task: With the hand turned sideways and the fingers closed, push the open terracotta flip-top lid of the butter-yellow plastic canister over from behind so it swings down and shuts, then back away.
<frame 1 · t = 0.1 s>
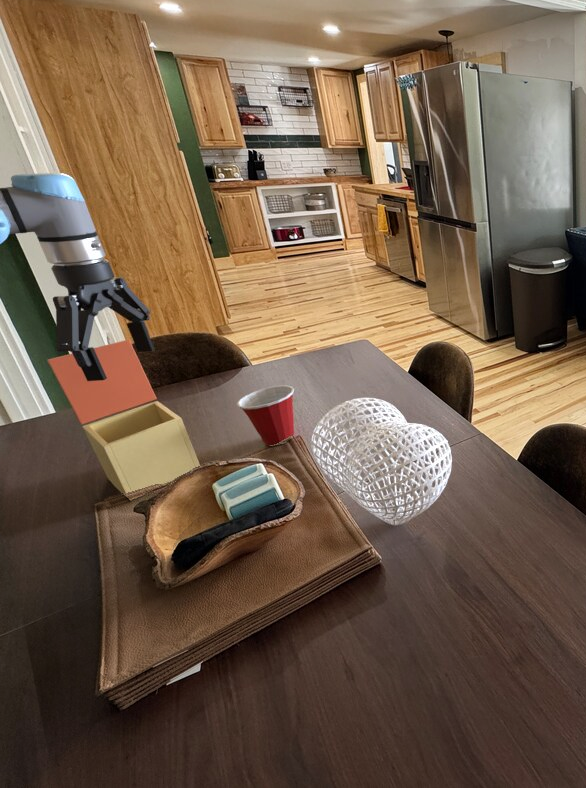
hand: (123, 364, 96), 22 cm above the table, tool pointing down, fingers open, 13 cm apart
lid: (105, 380, 94), point 20 cm above the table, hinge at 100.0°
heart: (396, 521, 87), on the table
plastic cup: (279, 440, 110), on the table
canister: (155, 474, 99), on the table
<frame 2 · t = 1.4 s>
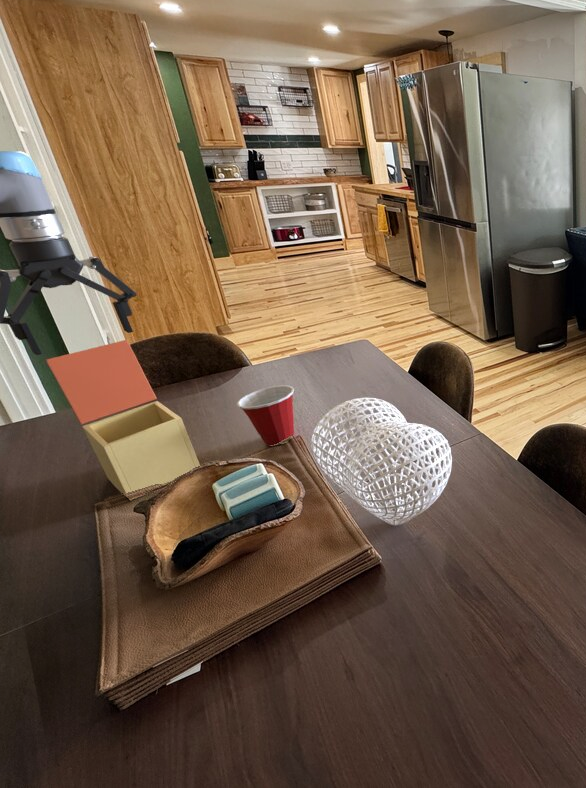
hand: (85, 341, 97), 26 cm above the table, tool pointing down, fingers open, 13 cm apart
lid: (104, 380, 95), point 20 cm above the table, hinge at 107.5°
everything else where it was.
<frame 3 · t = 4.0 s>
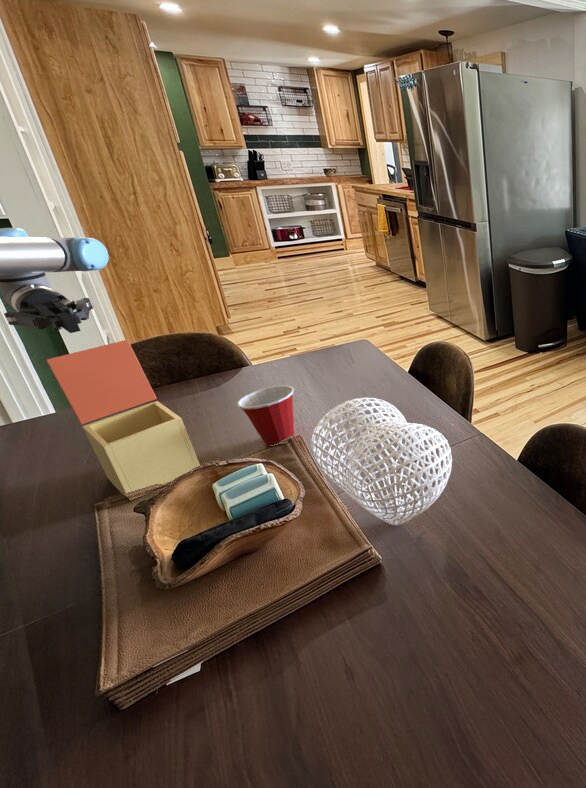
hand: (72, 325, 94), 30 cm above the table, tool horizontal, fingers closed
lid: (104, 380, 95), point 20 cm above the table, hinge at 105.1°
everything else where it was.
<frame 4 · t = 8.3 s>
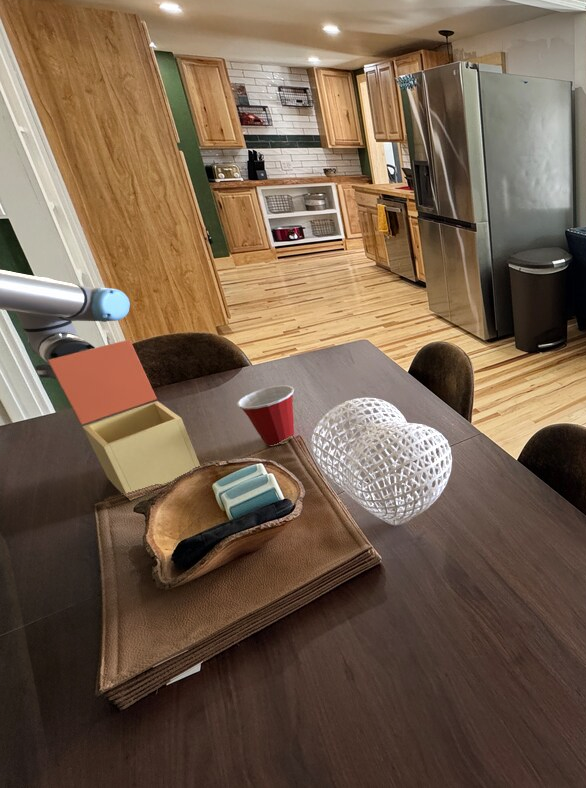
hand: (104, 379, 95), 20 cm above the table, tool horizontal, fingers closed
lid: (105, 380, 94), point 20 cm above the table, hinge at 98.4°, touching gripper
everything else where it was.
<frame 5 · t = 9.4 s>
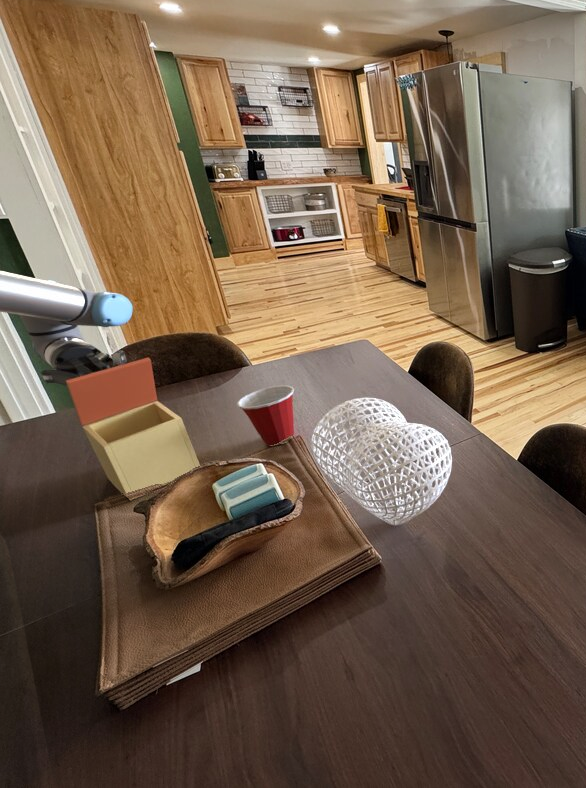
hand: (112, 385, 93), 20 cm above the table, tool horizontal, fingers closed
lid: (115, 391, 92), point 19 cm above the table, hinge at 57.6°
everything else where it was.
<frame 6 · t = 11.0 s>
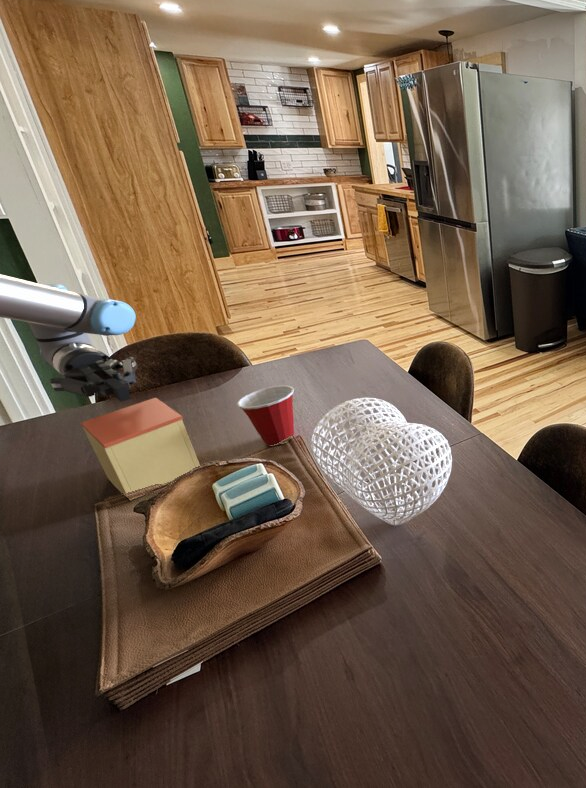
hand: (123, 394, 90), 20 cm above the table, tool horizontal, fingers closed
lid: (132, 420, 93), point 13 cm above the table, hinge at -0.2°
everything else where it was.
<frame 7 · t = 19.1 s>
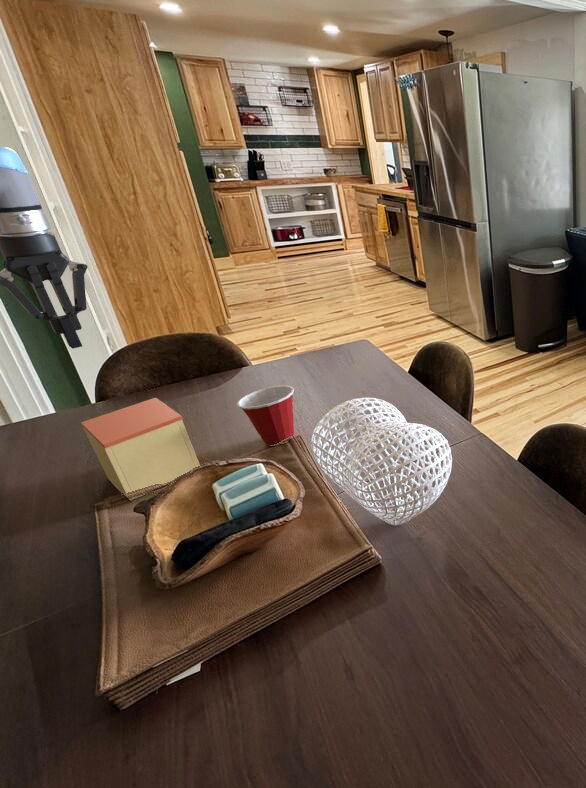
hand: (75, 345, 99), 24 cm above the table, tool pointing down, fingers closed
nothing on the table moved.
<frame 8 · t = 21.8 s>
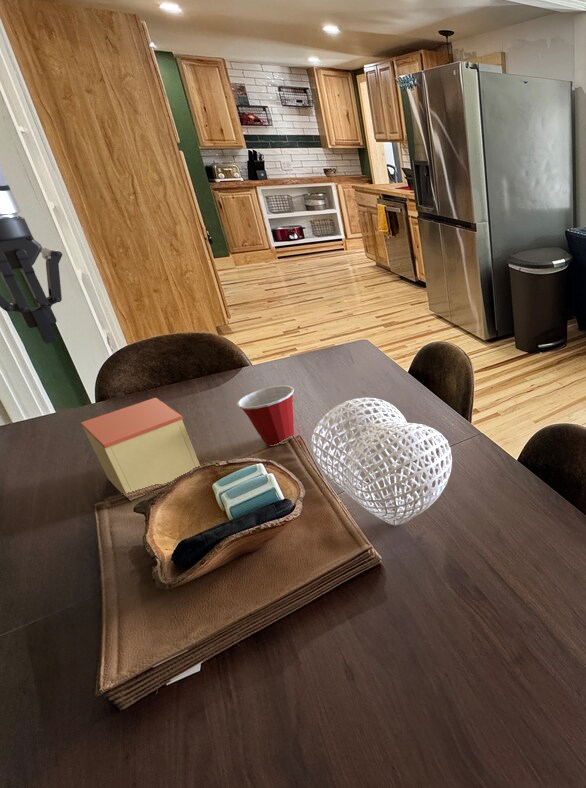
hand: (50, 340, 92), 28 cm above the table, tool pointing down, fingers closed
nothing on the table moved.
at the end: lid at +0° (first picture: +100°); plastic cup moved 0.2 cm from its start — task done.
